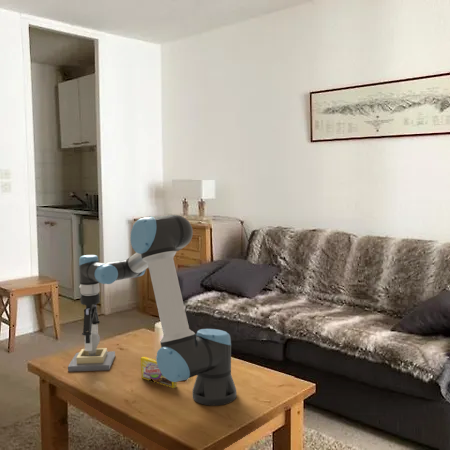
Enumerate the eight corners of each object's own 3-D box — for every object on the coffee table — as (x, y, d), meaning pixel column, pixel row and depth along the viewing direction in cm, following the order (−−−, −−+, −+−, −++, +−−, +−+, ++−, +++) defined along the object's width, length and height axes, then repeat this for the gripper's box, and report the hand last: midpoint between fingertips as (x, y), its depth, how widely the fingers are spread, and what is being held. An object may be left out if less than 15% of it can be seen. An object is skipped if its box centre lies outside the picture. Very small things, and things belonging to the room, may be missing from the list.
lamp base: (109, 370, 206) (109, 358, 205) (68, 371, 205) (67, 360, 204) (115, 355, 222) (114, 345, 221) (76, 357, 221) (76, 346, 220)
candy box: (140, 378, 197) (140, 357, 196) (144, 377, 199) (144, 355, 198) (173, 388, 188) (172, 366, 187) (177, 386, 189) (176, 364, 188)
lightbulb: (102, 356, 216) (101, 330, 215) (97, 361, 210) (96, 334, 208) (87, 355, 216) (87, 329, 215) (82, 360, 210) (81, 334, 209)
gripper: (86, 287, 222) (88, 335, 224) (73, 301, 198) (75, 355, 200) (104, 286, 223) (106, 335, 225) (93, 300, 198) (95, 355, 200)
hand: (91, 345), depth 212 cm, fingers open, 13 cm apart
